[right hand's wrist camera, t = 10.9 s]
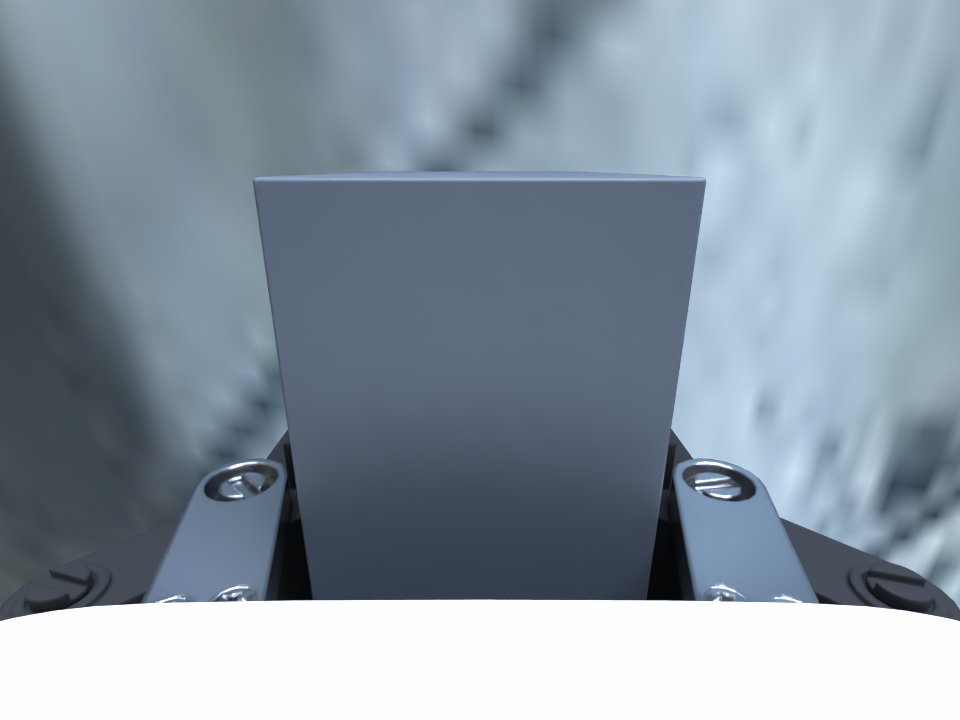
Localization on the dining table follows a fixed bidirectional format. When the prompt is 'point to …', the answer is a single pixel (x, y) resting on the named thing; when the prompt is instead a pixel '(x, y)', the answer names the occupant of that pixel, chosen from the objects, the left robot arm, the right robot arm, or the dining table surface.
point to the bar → (479, 375)
